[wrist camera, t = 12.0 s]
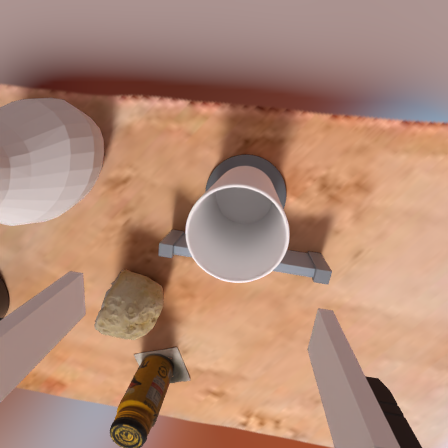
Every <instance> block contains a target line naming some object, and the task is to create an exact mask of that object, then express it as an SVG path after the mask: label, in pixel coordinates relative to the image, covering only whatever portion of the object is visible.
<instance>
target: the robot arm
mask: <svg viewBox="0 0 448 448" xmlns="http://www.w3.org/2000/svg"><path fill="white" fill-rule="evenodd" d="M8 306H9V298H8V293H7V290H6V287H5V285H4V283H3V281H2V279H1V278H0V402H1V401H2V400H3V399H4V398H5V397H6V396H7V395H8V394H9V393H10V392H11V391H12V390H13V389H14V388H15V387H16V386H17V385H18V384H19V383H20V382H21V381H22V380H23V379H24V378H25V377H26V376H27V375H28V374H29V372H30V371H31V370H32V369H33V368H34V367H35V366H36V365H37V364H38V363H39V362H40V361H41V360H42V359H43V358H44V357H45V356H46V355H47V354H48V353H49V352H50V351H51V350H52V349H53V348H54V347H55V346H56V345H57V343H58V342H59V341H60V340H61V339H62V338H63V337H64V336H65V335H66V334H67V333H68V332H69V331H70V330H71V329H72V328H73V327H74V326H75V325H76V324H77V323H78V322H79V321H80V320H81V319H82V318H83V317H84V316H85V314H86V311H85V296H84V280H83V273H78V272H72V271H70V272H68V273H67V274H66V275H64V276H63V277H61V278H60V279H58V280H57V281H56V282H54V283H53V284H51V285H50V286H49V287H47V288H46V289H44V290H43V291H42V292H40V293H39V294H37V295H36V296H34V297H33V298H32V299H30V300H29V301H27V302H26V303H25V304H23V305H22V306H20V307H19V308H17V309H16V310H15V311H13V312H12V313H10V314H9V315H8V316H6V317H5V318H3V317H4V316H5V315H6V313H7V310H8ZM308 353H309V357H310V360H311V364H312V368H313V371H314V375H315V378H316V382H317V386H318V389H319V393H320V396H321V400H322V404H323V407H324V411H325V414H326V418H327V422H328V425H329V429H330V432H331V436H332V440H333V443H334V447H335V448H422V447H421V445H420V443H419V441H418V440H417V438H416V436H415V434H414V433H413V431H412V429H411V427H410V426H409V424H408V422H407V420H406V418H404V416H403V413H402V411H401V410H400V408H399V406H397V403H396V401H395V399H394V397H393V395H392V394H391V392H390V390H389V389H388V388H387V387H386V386H385V385H384V384H383V383H382V382H381V381H380V380H379V379H378V378H372V377H366V376H365V375H364V373H363V371H362V369H361V367H360V365H359V363H358V361H357V359H356V357H355V355H354V353H353V351H352V349H351V347H350V345H349V343H348V341H347V339H346V337H345V335H344V333H343V331H342V328H341V326H340V324H339V322H338V320H337V318H336V316H335V314H334V312H333V311H332V310H326V309H319V308H318V311H317V315H316V319H315V322H314V326H313V330H312V334H311V338H310V342H309V346H308Z"/></svg>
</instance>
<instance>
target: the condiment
mask: <svg viewBox="0 0 448 448" xmlns="http://www.w3.org/2000/svg"><path fill="white" fill-rule="evenodd" d="M134 356H135V358H136V360H137V362H138V364H139V368H138V370H137V372H136V374H135V375H134V377H133V379H132V381H131V383H130V385H129V387H128V389H127V391H126V393H125V395H124V397H123V399H122V400H121V402H120V404H119V406H118V409H117V415H116V417H115V420H114V422H113V423H112V425H111V428H110V435H111V438H112V440H113V441H114V442H115V443H116V444H117V445H119V446H120V447H123V448H140V447H142V446H143V444H144V443H145V442H146V440H147V435H148V434H149V432H150V429H151V428H152V427H153V426H154V424H155V422H156V419H157V417H158V414H159V411H160V409H161V406H162V403H163V400H164V397H165V395H166V392H167V389H168V386H169V384H170V383H175V382H181V381H190V378H189V375H188V372H187V370H186V367H185V365H184V362H183V360H182V358H181V355H180V353H179V351H178V348H177V347H175V348H169V349H164V350H158V351H150V352H144V353H139V354H135V355H134ZM168 357H170V358H168ZM171 358H172V359H171Z"/></svg>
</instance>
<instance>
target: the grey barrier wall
mask: <svg viewBox="0 0 448 448" xmlns="http://www.w3.org/2000/svg"><path fill="white" fill-rule="evenodd" d="M174 255H181V256H187V257H192V255H191V253H190V251H189V249H188V246H187V242H186V234H185V233H184V231H179V230H173V229H172V230H171V231H170V232H169V234H168V235H167V236H166V237H165V238H164V239H163V240H162V241H161V242H160V243H159V256H162V257H168V258H172V257H173V256H174ZM273 271H277V272H283V273H289V274H295V275H301V276H307V277H312V279H313V282H316V283H322V284H329V280H330V277H331V273H332V271H331V269H330V268H329V266H328V264H327V263H326V261H325V259H324V258H323V256H322V254H321V253H316V252H310V251H308V253H304V252H298V251H291V250H287V251H286V253H285V256H284V257H283V259H282V261H281V262H280V263H279V265H278V266H277V267H276V268H275V269H274V270H273Z"/></svg>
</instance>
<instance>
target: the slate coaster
mask: <svg viewBox="0 0 448 448" xmlns="http://www.w3.org/2000/svg"><path fill="white" fill-rule="evenodd" d="M238 166H251V167H255V168H257V169H259V170H261V171H263V172H264V173H265V174H266V175H267V176H268V177H269V178H270V180H271V181H272V184H273V186H274V188H275V191H276V193H277V195H278V198H279V200H280V202H281V205H282V207H283V209H284V206H285V202H286V187H285V183H284V180H283V178H282V176H281V174H280V173H279V171H278V170H277V169H276V167H274V166H273V165H272V164H271V163H270V162H268V161H267V160H265V159H263V158H261V157H258V156H254V155H238V156H234V157H231V158H229V159H227V160H225V161H223V162H222V163H221V164H219V165H218V166H217V167H216V168H215V170H214V171H213V172H212V174H211V175H210V177H209V179H208V182H207V185H206V191H207V190H208V189H209V188H210V187H211V186H212V185H213V184H214V183H215V182H216V181H217V180H218V179H219V178H220V177H221V176H222V175H223V174H225V173H226V172H227V171H229V170H230V169H232V168H235V167H238Z"/></svg>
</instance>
